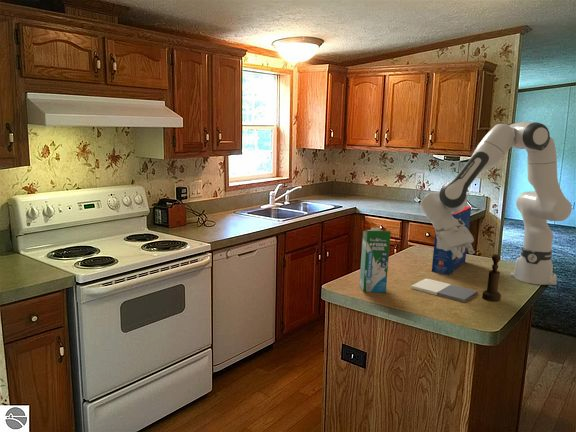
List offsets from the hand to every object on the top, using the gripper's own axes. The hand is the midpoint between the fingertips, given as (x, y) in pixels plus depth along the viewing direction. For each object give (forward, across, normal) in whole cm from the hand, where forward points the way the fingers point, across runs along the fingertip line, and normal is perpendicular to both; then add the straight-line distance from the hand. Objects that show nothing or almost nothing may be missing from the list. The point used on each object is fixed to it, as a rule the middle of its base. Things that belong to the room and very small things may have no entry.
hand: (467, 255), depth 191 cm
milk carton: (-6, -29, +28) cm, 40 cm away
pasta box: (-5, +28, +26) cm, 39 cm away
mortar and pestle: (+19, 0, +2) cm, 19 cm away
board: (+7, -7, +14) cm, 17 cm away
